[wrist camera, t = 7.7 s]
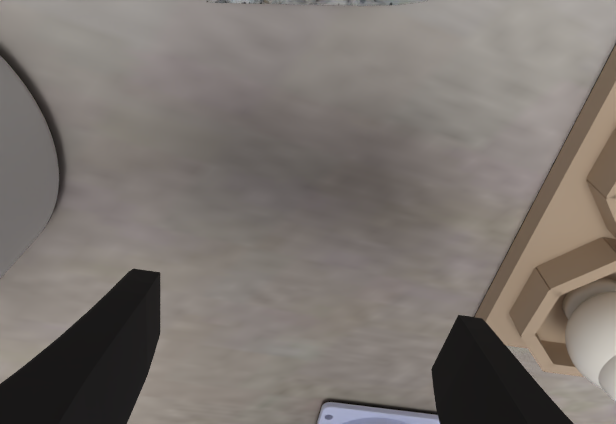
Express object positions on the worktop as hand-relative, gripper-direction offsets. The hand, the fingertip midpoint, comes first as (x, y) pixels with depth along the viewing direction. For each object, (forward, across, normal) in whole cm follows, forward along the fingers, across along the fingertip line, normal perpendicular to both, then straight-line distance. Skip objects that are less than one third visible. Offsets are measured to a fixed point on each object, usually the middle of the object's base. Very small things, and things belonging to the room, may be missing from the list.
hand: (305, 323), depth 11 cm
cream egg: (+8, -15, +5) cm, 17 cm away
